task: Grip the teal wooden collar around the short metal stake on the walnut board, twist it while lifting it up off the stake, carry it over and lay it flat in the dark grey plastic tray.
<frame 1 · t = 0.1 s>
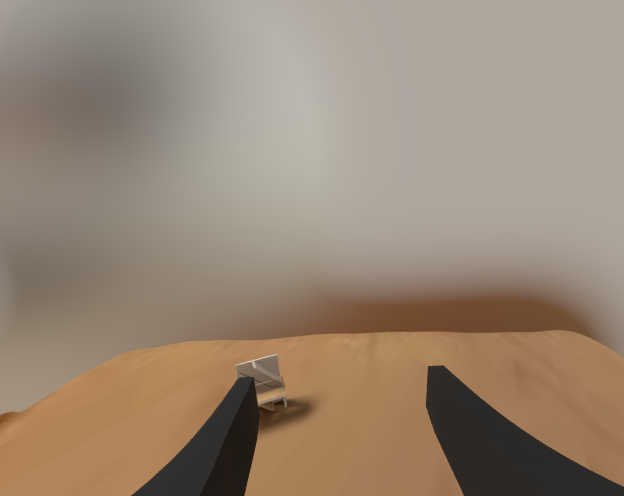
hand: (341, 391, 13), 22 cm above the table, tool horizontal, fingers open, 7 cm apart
architectural model: (265, 413, 43), on the table
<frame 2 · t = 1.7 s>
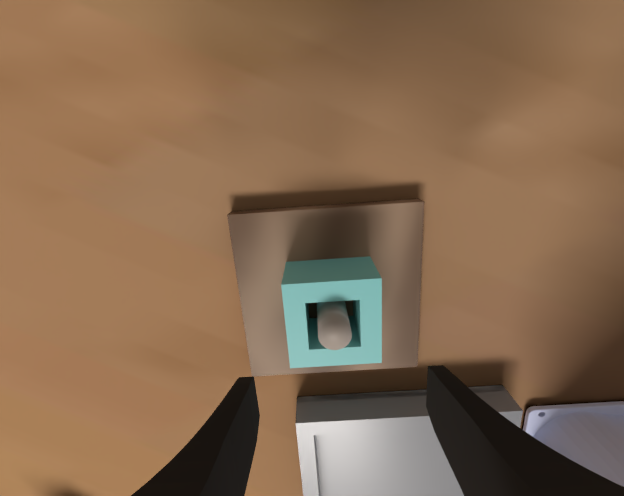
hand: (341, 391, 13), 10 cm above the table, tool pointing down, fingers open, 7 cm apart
stake board: (329, 290, 22), on the table
tray: (397, 466, 27), on the table
collar: (330, 297, 21), point 1 cm above the table, touching stake board
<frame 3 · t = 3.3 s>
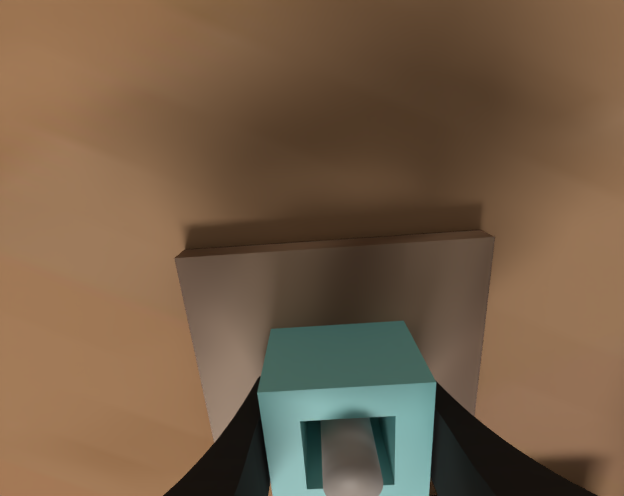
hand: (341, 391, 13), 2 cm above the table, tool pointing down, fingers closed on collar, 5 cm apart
stake board: (337, 364, 15), on the table
collar: (339, 379, 14), point 1 cm above the table, touching gripper, stake board
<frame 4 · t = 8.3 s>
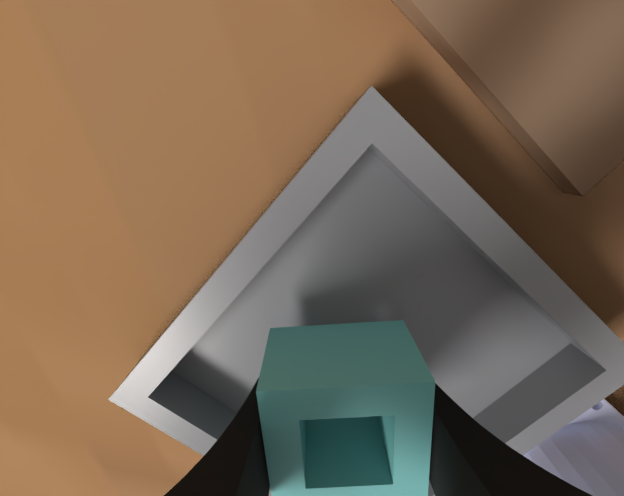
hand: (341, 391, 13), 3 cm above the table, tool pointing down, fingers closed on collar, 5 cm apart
tray: (364, 347, 16), on the table
collar: (339, 378, 14), point 2 cm above the table, touching gripper
when the fingers open (3 cm above the table, at t = 8.7 s): collar drops 2 cm, resting on tray.
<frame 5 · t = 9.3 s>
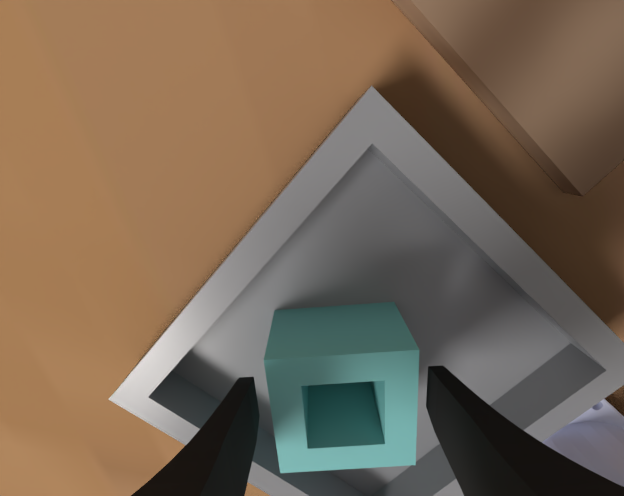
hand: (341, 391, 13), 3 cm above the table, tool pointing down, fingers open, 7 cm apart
tray: (364, 347, 16), on the table
collar: (337, 356, 15), point 1 cm above the table, touching tray
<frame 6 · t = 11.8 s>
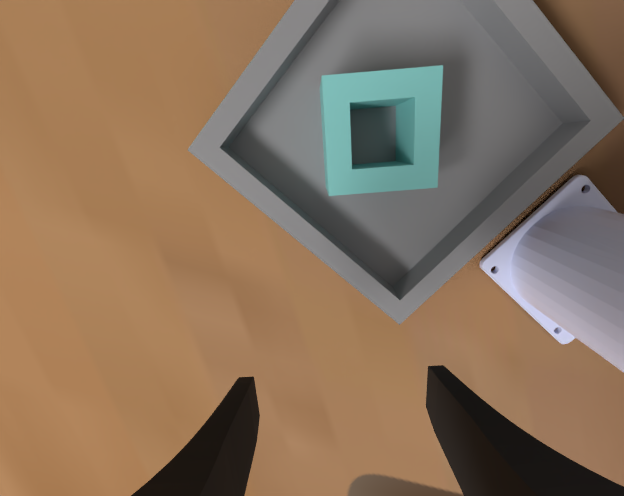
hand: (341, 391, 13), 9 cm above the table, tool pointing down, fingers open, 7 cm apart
tray: (391, 135, 19), on the table
collar: (369, 136, 18), point 1 cm above the table, touching tray
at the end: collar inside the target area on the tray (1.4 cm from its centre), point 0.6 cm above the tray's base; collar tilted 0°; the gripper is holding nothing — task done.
